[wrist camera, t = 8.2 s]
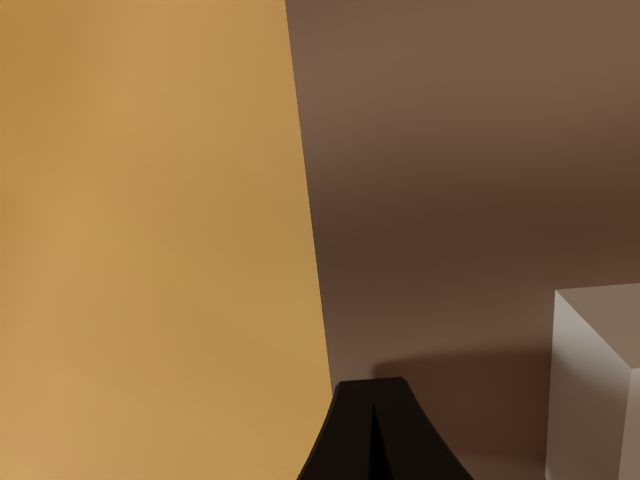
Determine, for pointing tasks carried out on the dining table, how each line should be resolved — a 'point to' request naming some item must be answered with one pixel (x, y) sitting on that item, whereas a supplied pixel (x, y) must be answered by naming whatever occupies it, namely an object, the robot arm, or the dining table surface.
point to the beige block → (595, 385)
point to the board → (467, 196)
